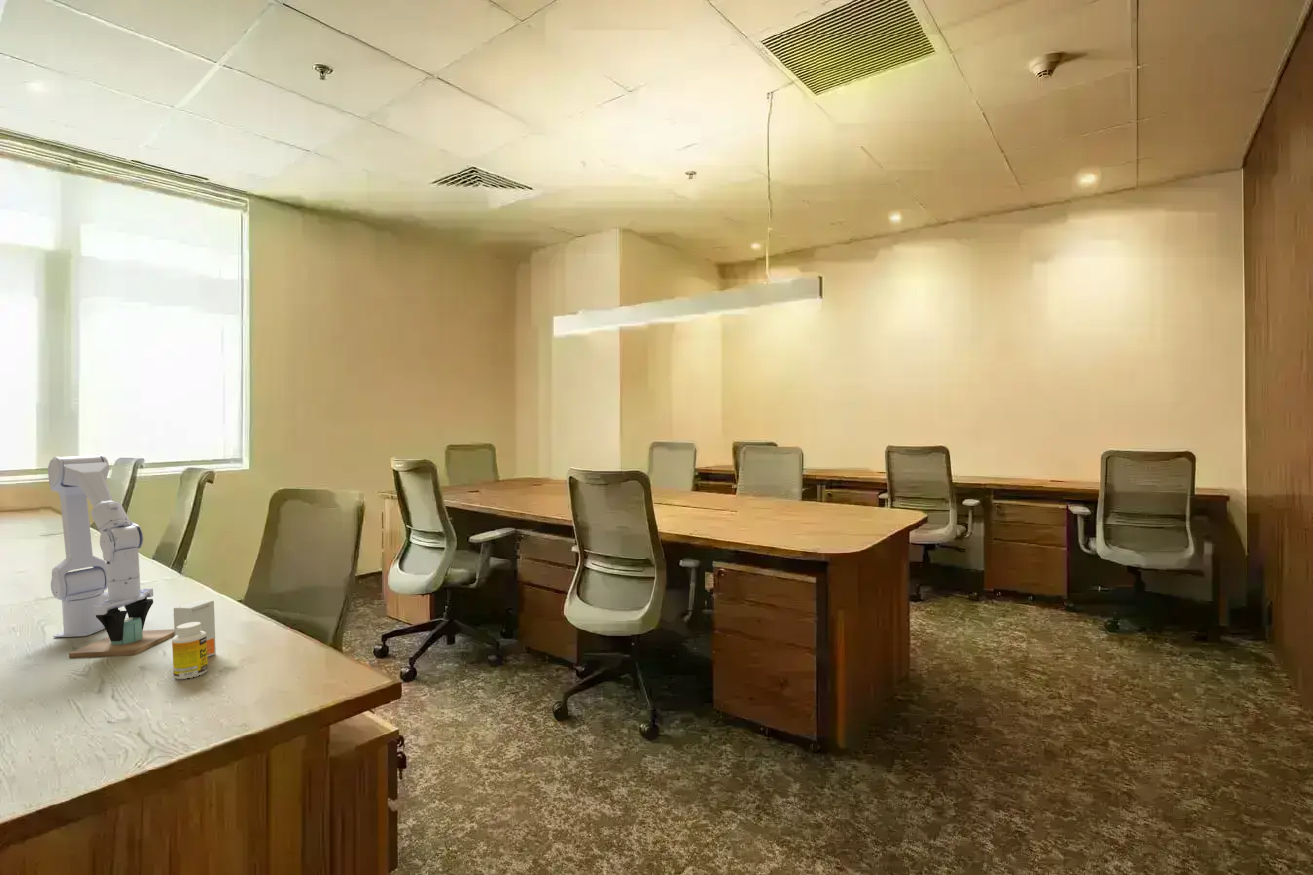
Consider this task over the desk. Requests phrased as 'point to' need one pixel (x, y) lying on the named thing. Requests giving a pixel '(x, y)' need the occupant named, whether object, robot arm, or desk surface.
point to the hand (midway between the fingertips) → (127, 636)
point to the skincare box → (198, 620)
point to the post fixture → (123, 645)
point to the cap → (130, 631)
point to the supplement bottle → (189, 651)
